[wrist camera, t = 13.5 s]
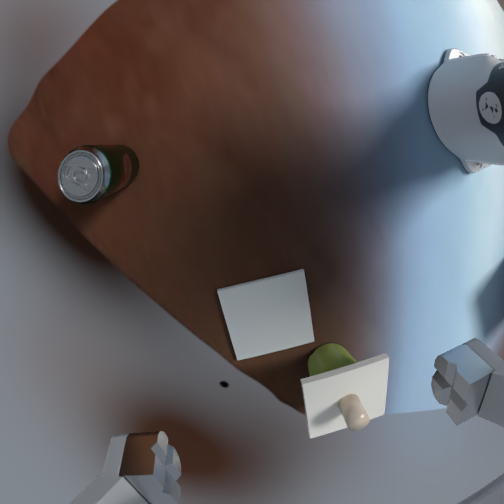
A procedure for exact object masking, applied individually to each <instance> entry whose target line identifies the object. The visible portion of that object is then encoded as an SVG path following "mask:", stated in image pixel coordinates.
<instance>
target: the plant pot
mask: <svg viewBox="0 0 504 504" xmlns="http://www.w3.org/2000/svg"><path fill="white" fill-rule="evenodd" d="M354 363H357V362H356V361H355V359H354V358H353V357H352V356H351V355H350V354H349V353H348V352H347V351H346V350H345V348H344V347H342V346H340V345H338V344H335V343H329V344H325V345H322V346H320V347H318V348H317V349H316V350H315V351H314V353H313V354H312V355H311V356H310V357H309V359H308V370H309V375H310V376H314V375H318V374H321V373H325V372H328V371H331V370H335V369H338V368H341V367H345V366H348V365H351V364H354Z"/></svg>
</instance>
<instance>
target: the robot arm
mask: <svg viewBox="0 0 504 504" xmlns="http://www.w3.org/2000/svg"><path fill="white" fill-rule="evenodd" d="M428 107H429V113H430V117H431V121H432V124H433V126H434V129H435V131H436V133H437V135H438V137H439V138H440V140H441V141H442V143H443V144H444V145H445V146H446V147H447V148H448V149H449V150H450V151H451V152H452V153H454V154H455V155H456V156H457V157H458V158H459V159H460V161H461V162H462V164H463V166H464V168H465V169H466V170H467V171H468V172H470V173H475V172H477V171H479V170H481V169H483V168H485V167H487V166H489V165H491V164H495V165H504V59H497V56H494V55H490V54H477V55H470V54H468V53H465V52H463V51H460V50H458V49H454V48H453V49H448V50H447V51H446V54H445V58H444V62H443V64H442V65H441V66H440V67H439V68H438V69H437V70H436V71H435V73H434V74H433V76H432V78H431V81H430V85H429V90H428ZM476 162H477V163H476ZM434 367H435V368H436V369H437V371H436V372H435V374H434V375H433V377H432V383H431V386H432V391H433V394H434V396H435V398H436V400H437V401H438V402H439V403H440V404H443V405H446V406H447V412H446V413H447V414H448V415H449V416H450V418H451V419H452V420H453V422H454V423H455V424H456V425H459V424H461V423H463V422H465V421H467V420H468V419H470V418H472V417H474V416H476V415H477V414H478V416H479V417H482V418H484V419H486V420H489V421H491V422H493V423H496V424H498V425H500V426H503V427H504V361H503V360H502V359H501V358H500V357H499V356H497V355H496V354H495V353H494V352H493V351H492V350H491V349H489V348H488V347H487V346H486V345H485V344H484V343H482V342H481V341H480V340H479V339H476V338H474V339H472V340H470V341H468V342H466V343H464V344H462V345H459V346H457V347H455V348H453V349H451V350H449V351H447V352H445V353H443V354H441V355H439V356H437V358H436V359H435V364H434ZM180 476H181V466H180V460H179V457H178V454H177V452H176V450H175V449H174V447H172V446H170V445H168V438H167V436H166V435H165V433H164V432H163V431H157V432H142V433H128V434H114V435H113V437H112V438H111V442H110V445H109V449H108V453H107V457H106V461H105V465H104V469H103V473H102V476H97V477H96V478H95V479H94V480H93V481H92V482H91V483H90V484H89V485H88V486H87V487H86V488H85V489H84V490H83V491H82V492H81V493H80V494H79V495H78V496H76V497H75V499H73V500H72V501H71V502H70V503H69V504H180V486H179V485H178V484H177V483H176V480H177V479H178V478H179V477H180ZM457 504H504V473H503V474H502V475H501V476H499V477H498V478H496V479H495V480H494V481H492V482H491V483H489V484H488V485H486V486H485V487H483V488H482V489H480V490H479V491H477V492H475V493H474V494H472V495H471V496H469V497H468V498H466V499H464V500H462V501H461V502H459V503H457Z"/></svg>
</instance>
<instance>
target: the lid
mask: <svg viewBox="0 0 504 504" xmlns="http://www.w3.org/2000/svg"><path fill="white" fill-rule="evenodd" d="M388 366H389V357H388V356H387V354H386V353H384V354H381V355H378V356H375V357H372V358H369V359H366V360H363V361H360V362H357V363H354V364H351V365H348V366H345V367H341V368H338V369H335V370H331V371H328V372H325V373H321V374H318V375H314V376H310V377H307V378H303V379H300V380H301V386H302V393H303V399H304V406H305V413H306V419H307V426H308V433H309V436H310V438H314V437H317V436H321V435H324V434H328V433H331V432H334V431H338V430H341V429H344V428H347V427H348V429H349V430H351V431H357V430H360V429H362V428H364V427H365V426H366V425H367V424H368V423H369V420H370V419H373V418H376V417H378V416H381V415H384V412H385V403H386V392H387V380H388Z"/></svg>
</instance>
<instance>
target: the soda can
mask: <svg viewBox="0 0 504 504" xmlns="http://www.w3.org/2000/svg"><path fill="white" fill-rule="evenodd" d="M138 171H139V162H138V158H137V156H136V154H135V153H134V151H133V150H132V149H130V148H129V147H127V146H124V145H83V146H79V147H76V148H74V149H73V150H71V151H70V152H69V153H68V154H67V155H66V156H65V158H64V159H63V161H62V162H61V164H60V167H59V170H58V183H59V187H60V189H61V191H62V193H63V194H64V195H65V196H66V197H67V198H68V199H70V200H72V201H73V202H75V203H78V204H84V205H85V204H91V203H94V202H96V201H98V200H100V199H102V198H104V197H106V196H108V195H110V194H112V193H114V192H116V191H118V190H120V189H123V188H125V187H127V186H128V185H130V184H131V183H132V182H133V181H134V180H135V178H136V176H137V174H138Z"/></svg>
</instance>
